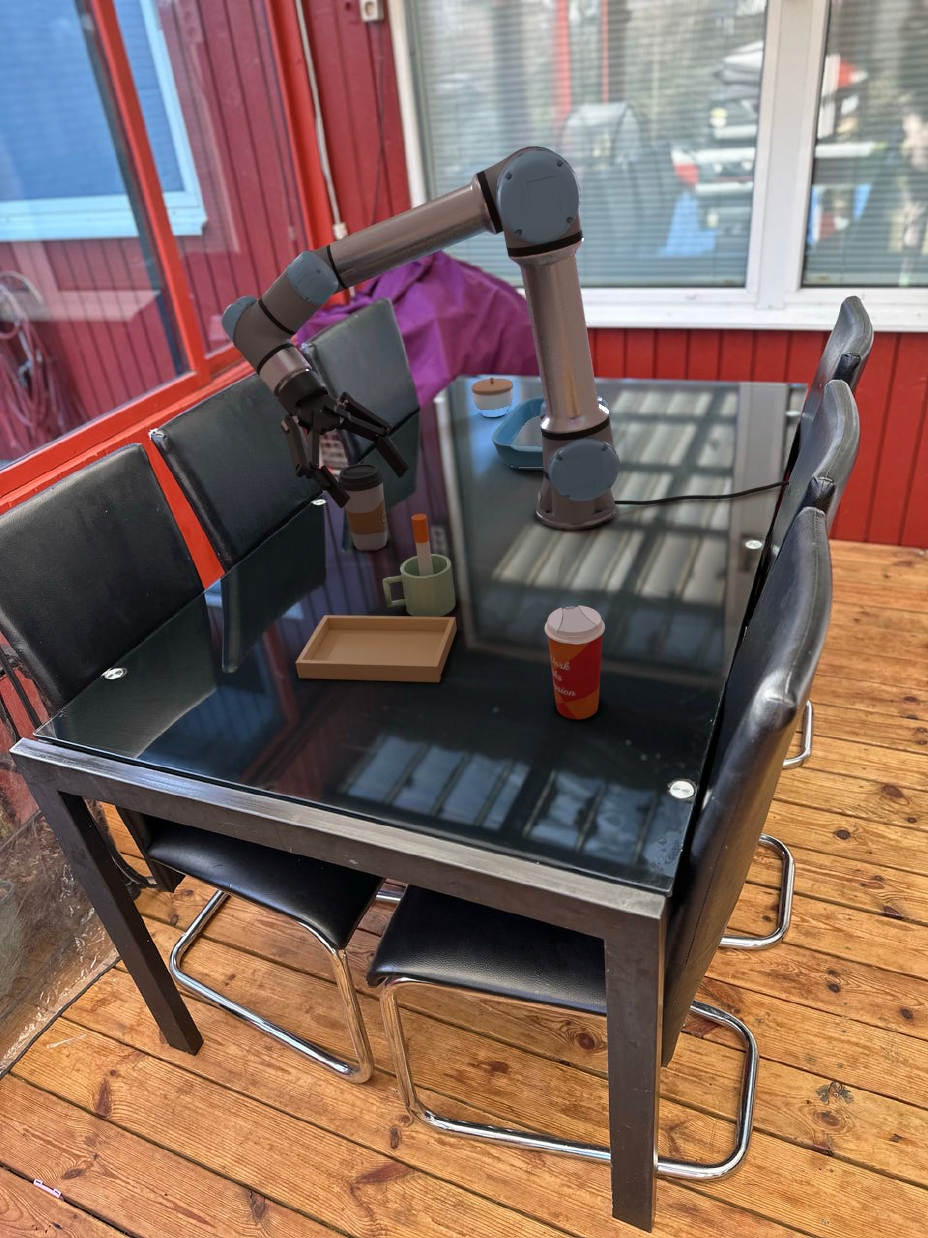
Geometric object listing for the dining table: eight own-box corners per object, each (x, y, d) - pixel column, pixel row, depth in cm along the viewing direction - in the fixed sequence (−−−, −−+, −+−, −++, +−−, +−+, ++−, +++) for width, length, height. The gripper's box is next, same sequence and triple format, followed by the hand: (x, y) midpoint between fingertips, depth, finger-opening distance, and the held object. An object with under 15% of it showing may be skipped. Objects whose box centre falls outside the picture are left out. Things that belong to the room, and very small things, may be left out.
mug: (451, 592, 150) (446, 550, 146) (459, 616, 143) (454, 573, 139) (385, 603, 149) (379, 561, 145) (390, 628, 142) (383, 584, 138)
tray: (457, 632, 139) (455, 617, 138) (439, 682, 128) (437, 666, 126) (327, 629, 144) (324, 615, 142) (298, 678, 132) (295, 662, 131)
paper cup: (544, 693, 123) (539, 607, 116) (599, 686, 123) (597, 600, 116) (554, 728, 116) (549, 638, 109) (611, 721, 117) (611, 631, 109)
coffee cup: (385, 554, 165) (374, 479, 157) (343, 554, 167) (330, 479, 159) (397, 534, 172) (387, 462, 164) (357, 534, 174) (344, 462, 166)
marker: (439, 601, 147) (428, 513, 139) (436, 609, 145) (424, 519, 137) (425, 601, 147) (413, 513, 139) (422, 608, 145) (409, 520, 137)
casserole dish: (583, 481, 186) (582, 449, 182) (482, 477, 193) (480, 446, 189) (615, 422, 215) (615, 393, 212) (527, 420, 222) (525, 392, 219)
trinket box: (470, 421, 226) (467, 385, 221) (477, 408, 235) (474, 372, 230) (512, 420, 224) (509, 383, 219) (517, 406, 233) (515, 371, 228)
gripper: (341, 377, 153) (416, 473, 152) (226, 422, 137) (310, 529, 136) (358, 348, 147) (436, 448, 146) (240, 392, 131) (327, 504, 130)
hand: (376, 487), depth 141 cm, fingers open, 13 cm apart
